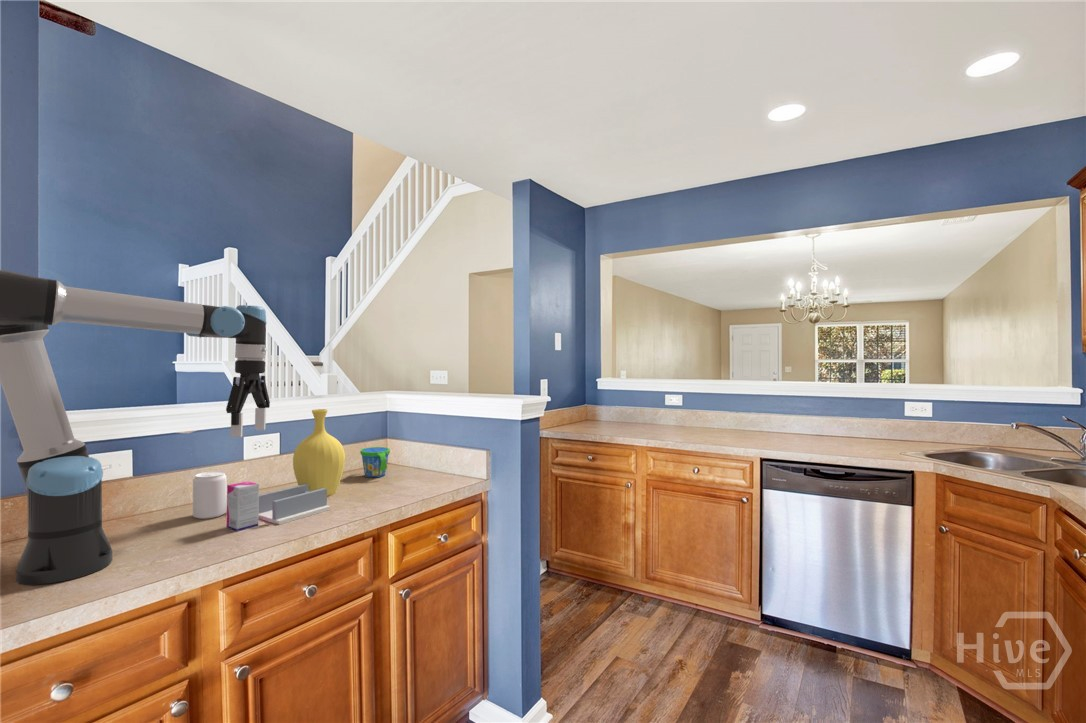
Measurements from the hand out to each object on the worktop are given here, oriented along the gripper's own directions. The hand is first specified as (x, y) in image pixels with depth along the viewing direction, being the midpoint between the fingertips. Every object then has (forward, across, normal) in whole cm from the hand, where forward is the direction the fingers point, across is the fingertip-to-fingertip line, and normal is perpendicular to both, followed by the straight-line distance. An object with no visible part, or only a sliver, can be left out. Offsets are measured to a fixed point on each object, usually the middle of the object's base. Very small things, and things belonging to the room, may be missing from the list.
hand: (248, 433), depth 147 cm
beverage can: (+24, 0, +10) cm, 26 cm away
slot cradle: (+24, +2, -12) cm, 26 cm away
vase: (+24, +22, -12) cm, 35 cm away
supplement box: (+24, -10, -4) cm, 26 cm away
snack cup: (+23, +46, -25) cm, 57 cm away
